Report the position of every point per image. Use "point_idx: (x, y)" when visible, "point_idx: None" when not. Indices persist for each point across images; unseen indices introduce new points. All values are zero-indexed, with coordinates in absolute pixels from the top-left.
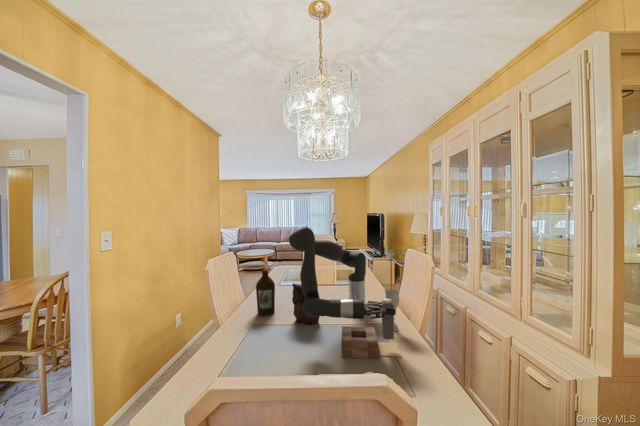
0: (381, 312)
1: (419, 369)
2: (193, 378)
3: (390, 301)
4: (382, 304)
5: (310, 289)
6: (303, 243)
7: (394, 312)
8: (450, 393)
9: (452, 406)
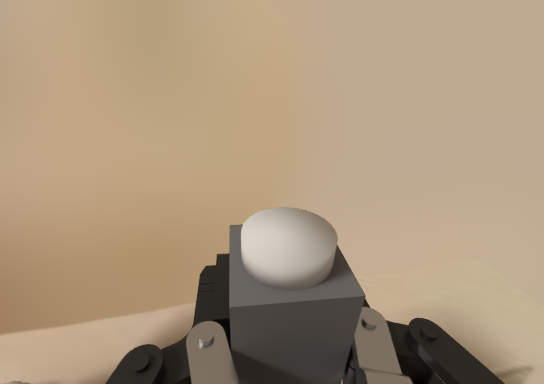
0: (469, 361)
1: None
2: None
3: (313, 218)
4: (311, 318)
5: None
6: None
7: None
8: (437, 282)
9: (482, 288)
